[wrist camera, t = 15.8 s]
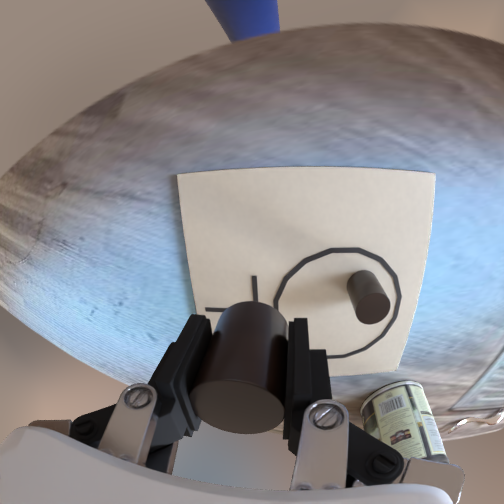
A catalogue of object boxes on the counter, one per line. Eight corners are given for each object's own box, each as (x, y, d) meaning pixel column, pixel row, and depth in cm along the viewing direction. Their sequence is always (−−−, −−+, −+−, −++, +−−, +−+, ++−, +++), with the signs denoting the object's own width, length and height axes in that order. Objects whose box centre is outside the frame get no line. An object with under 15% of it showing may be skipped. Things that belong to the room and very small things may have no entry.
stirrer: (445, 445, 31) (459, 431, 29) (440, 432, 34) (453, 418, 33) (498, 424, 31) (510, 411, 29) (493, 415, 34) (504, 402, 33)
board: (179, 173, 24) (176, 174, 23) (432, 172, 21) (436, 173, 20) (210, 370, 33) (209, 373, 32) (395, 367, 29) (396, 371, 29)
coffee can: (385, 426, 34) (398, 495, 21) (346, 411, 33) (354, 493, 20) (434, 390, 31) (460, 462, 18) (400, 371, 29) (428, 458, 16)
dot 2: (347, 270, 25) (358, 293, 21) (379, 269, 24) (393, 292, 20) (344, 299, 26) (353, 325, 22) (374, 298, 25) (386, 323, 21)
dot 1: (213, 299, 12) (178, 374, 7) (289, 301, 11) (287, 382, 7) (222, 354, 13) (197, 428, 8) (288, 357, 12) (284, 436, 8)
